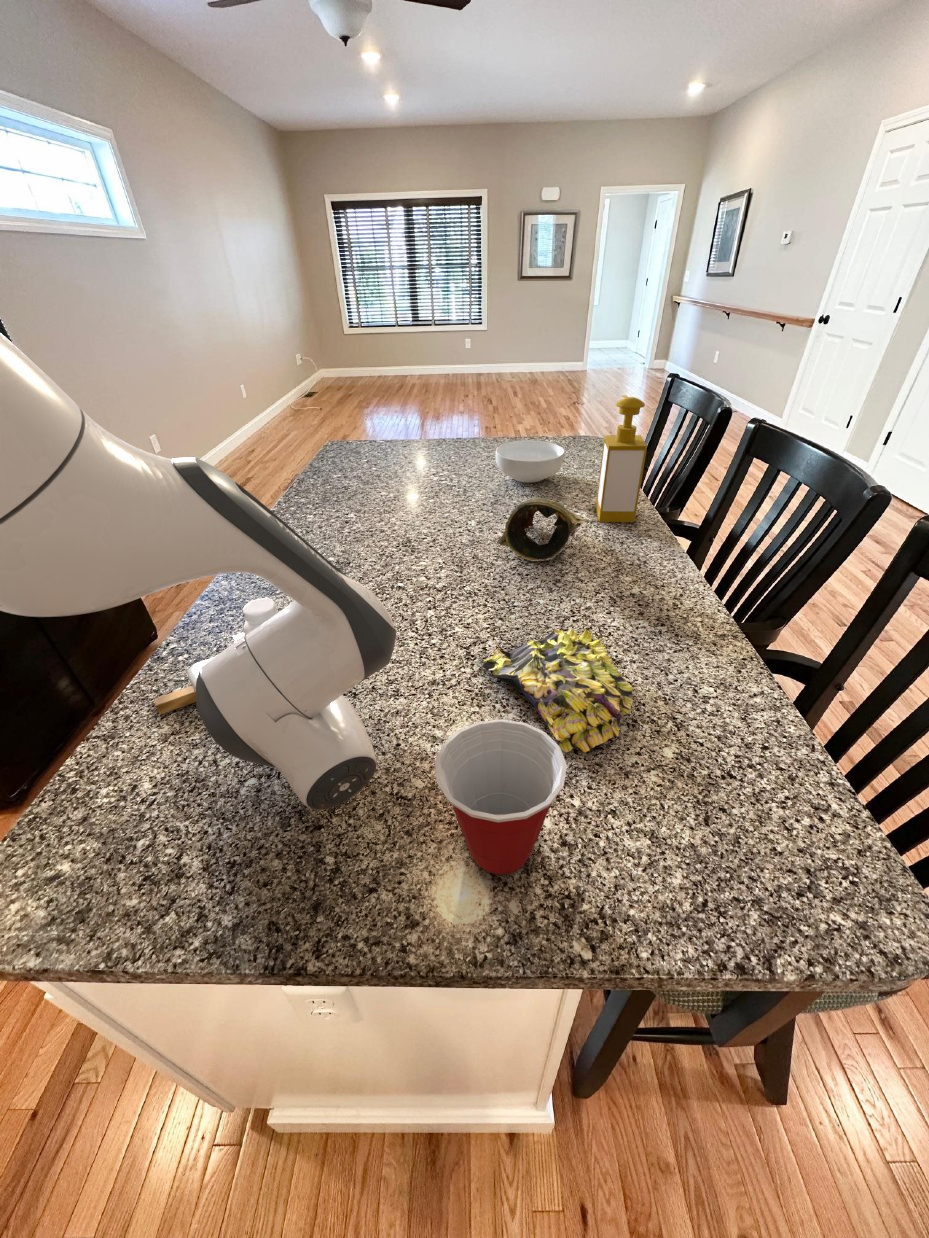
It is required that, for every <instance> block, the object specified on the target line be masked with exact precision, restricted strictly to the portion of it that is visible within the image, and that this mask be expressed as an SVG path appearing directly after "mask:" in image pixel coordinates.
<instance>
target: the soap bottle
mask: <svg viewBox="0 0 929 1238" xmlns="http://www.w3.org/2000/svg"><path fill="white" fill-rule="evenodd" d="M621 397H622V399H620V400H617V402H615V406H616V407H618V414H619V415H622V416H624V417H623V423H622V424H619V425H617V427H616V434H615V435H614V434H613V435H612V434H611V435H607V434H605V435H603V437H604V438H603V443H602V451H601V458H600V466H599V467H600V468H599V477H598V484H597V492H596V502H595V512H596V515H597V519H598V522H599V523H635V521H636V516H637V509H638V504H639V498H640V491H641V486H642V479H643V474H644V469H645V463H646V457H647V448H648V444H647V442H646V441H645V439H644V438H643V436H642V435H641V434H636V433H637V428H638V427H637V426H636V425H634V424H633V418H634V416H637V415H640V413H641V412H640V411H641V408H644V407H646V403H645V402H644V401H643V400H641V399H639V398H638V397H635V396H628V395H626V394H622V395H621Z"/></svg>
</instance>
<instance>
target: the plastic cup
mask: <svg viewBox="0 0 929 1238" xmlns="http://www.w3.org/2000/svg"><path fill="white" fill-rule="evenodd" d="M567 767H568V764H567V762H566V759H565V757H564V754H563V750H562V749H561V747H560V745H559V744H557V742H556V741H555V740H553V738H552V737H550V735H548V734H547V732H545V731H544V730H541V729H539V728H537V727H535V726H533V725H531V724H529V723H526V722H523V721H515V720H510V719H503V718H501V719H491V720H484V721H483V720H482V721H477V722H475V723H472V724H470V725H468V726H466V727H463V728H461V729H458V730H457V731H456V732H455V733H454V734H452V735H451V737H449V738H448V739H447V740H446V741H444V743H443V744H442V745H441V748H440V750H439V751H438V754H437V757H436V759H435V761H434V769H435V781H436V784H437V786H438V787H439V789H440V790H441V792H442V794H443V795H444V796H445V798H446V799H447V801H448V802H449V804H450V805H451V807H452V809H453V812H454V814H455V817H456V820H457V823H458V826H459V828H460V832H461V834H462V837H463V839H464V840H465V842H466V846H467V849H468V852H469V854H470V856H471V857H472V859H473V860H474V862H475V863H476V864H477V866H478V867H480V868H481V869H483V870H484V871H485V872H487V873H490V874H494V875H498V876H501V875H510V874H513V873H515V872H516V871H518V870H519V869H521V868H523V866H524V865H525V864H526V862H528V859H529V858H530V857H531V855H532V852H533V849H534V846H535V844H536V843H537V842H538V840H539V836H540V835H541V831H542V829H543V826H544V823H545V820H546V818H547V815H548V812H549V810H550V809H551V807H552V804H553V802H554V800H555V799H556V798H557V796H558V795H559V794H560V792H561V791H562V790H563V788H564V786H565V781H566V775H567V769H568V768H567Z"/></svg>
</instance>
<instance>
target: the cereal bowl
mask: <svg viewBox="0 0 929 1238" xmlns="http://www.w3.org/2000/svg"><path fill="white" fill-rule="evenodd" d="M565 452H566V451H565V448H563V447H562V446H561V445H559V444H556V443H553V442H548V441H543V440H533V439H532V440H531V439H527V440H526V439H525V440H513V441H508V442H505V443H503V444H500V445H499V446H497V447H496V448H495V462H496V466H497V469H499V471H500V472H501V473H502V474H504V475H505V476H507V477H509V478H512V479H513V480H514V481H516V482H519V483H524V484H525V483H527V484H528V483H529V484H530V483H539V482H542V481H543V480H545V479H548V478H550V477H553V476H554V475H556V474H557V473H558V472H559V471H560V469H561V468H562V465H563V463H564V459H565Z"/></svg>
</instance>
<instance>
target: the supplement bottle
mask: <svg viewBox="0 0 929 1238" xmlns="http://www.w3.org/2000/svg"><path fill="white" fill-rule="evenodd" d="M278 612H279V611H278V608H277V605H276V602H275V600H274V599H272V598H269V597H260V598H255V599H252V600H250V601H249V602H247V603H246V604H245V605H244V606H243V608H242V613H243V617H244V619H245V622H244V624H243V633H245V635H247V634H249V633H250V632H251V631H253V630H254V629H256V628H257V627H259V626H260V625H261V624H263V623H264V622H266V621H267V620H268V619H270V618H271V617H273V616H274V615H275V614H277V613H278Z"/></svg>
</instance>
